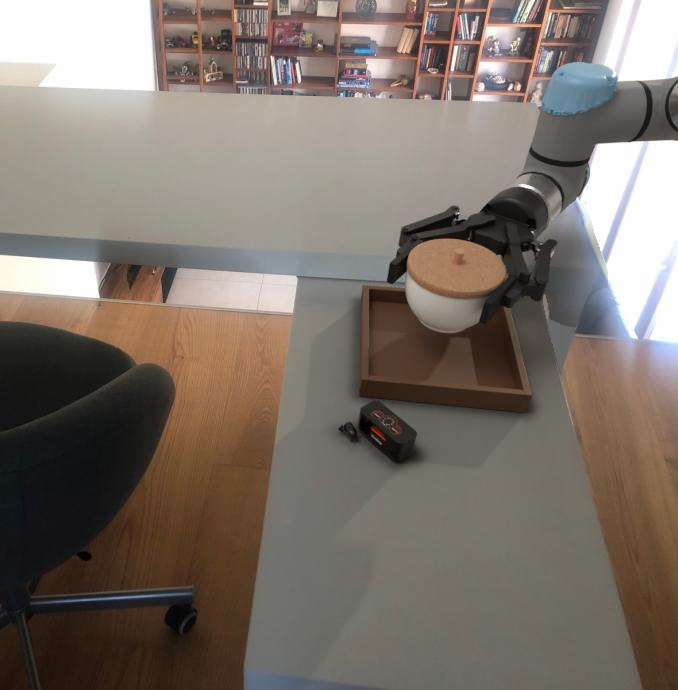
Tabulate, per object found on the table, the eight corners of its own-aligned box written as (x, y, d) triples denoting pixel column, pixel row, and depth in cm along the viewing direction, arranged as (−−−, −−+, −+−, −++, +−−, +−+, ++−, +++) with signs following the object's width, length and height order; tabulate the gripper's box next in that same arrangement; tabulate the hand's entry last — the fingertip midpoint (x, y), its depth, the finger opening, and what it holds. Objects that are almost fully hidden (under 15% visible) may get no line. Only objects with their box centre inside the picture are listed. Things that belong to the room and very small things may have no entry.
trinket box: (487, 296, 86) (506, 231, 80) (492, 352, 78) (514, 284, 72) (399, 286, 88) (411, 221, 82) (395, 339, 80) (408, 272, 74)
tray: (501, 312, 92) (507, 295, 90) (525, 413, 78) (532, 395, 77) (360, 301, 95) (362, 284, 93) (358, 396, 81) (361, 379, 79)
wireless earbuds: (367, 414, 79) (371, 394, 77) (414, 454, 74) (419, 433, 72) (337, 432, 77) (339, 412, 75) (383, 474, 72) (387, 453, 70)
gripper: (602, 271, 86) (529, 362, 73) (431, 210, 98) (344, 281, 85) (624, 218, 81) (550, 307, 68) (442, 161, 93) (351, 228, 80)
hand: (436, 292), depth 77 cm, fingers closed on trinket box, 11 cm apart
